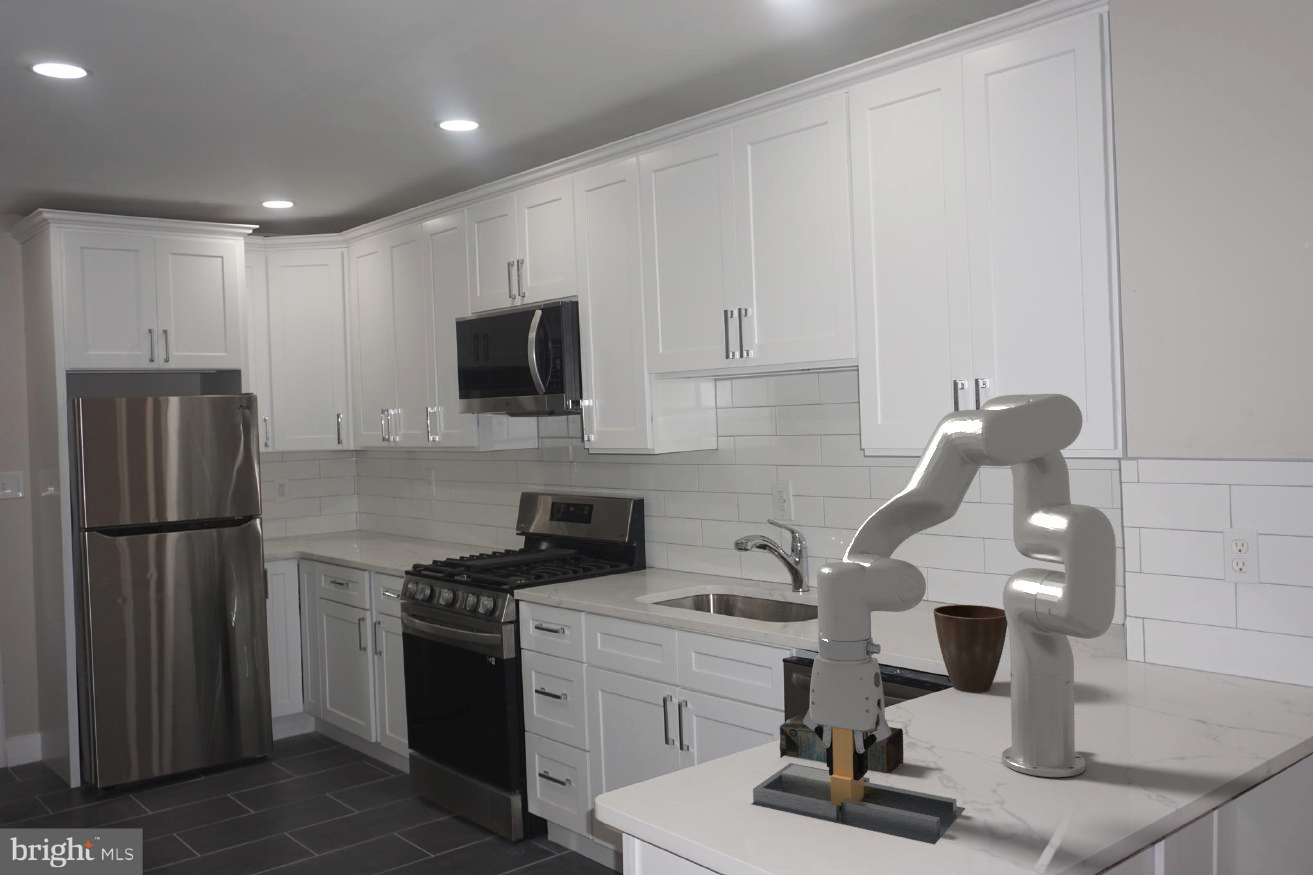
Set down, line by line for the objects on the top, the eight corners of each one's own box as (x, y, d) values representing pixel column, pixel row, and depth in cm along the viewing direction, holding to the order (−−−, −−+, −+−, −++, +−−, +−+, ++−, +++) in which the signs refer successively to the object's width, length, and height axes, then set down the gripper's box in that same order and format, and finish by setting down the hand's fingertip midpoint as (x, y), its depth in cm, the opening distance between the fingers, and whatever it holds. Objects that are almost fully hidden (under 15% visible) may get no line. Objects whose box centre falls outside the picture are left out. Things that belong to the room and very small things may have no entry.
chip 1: (793, 787, 151) (793, 764, 151) (818, 792, 149) (817, 769, 149) (782, 796, 148) (781, 772, 148) (807, 801, 146) (806, 777, 145)
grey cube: (817, 792, 149) (817, 769, 149) (843, 797, 147) (842, 774, 147) (806, 801, 145) (806, 777, 145) (832, 806, 143) (831, 782, 143)
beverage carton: (797, 746, 173) (796, 709, 173) (906, 765, 163) (905, 725, 163) (778, 760, 166) (777, 721, 166) (890, 780, 156) (890, 739, 156)
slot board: (792, 779, 157) (792, 761, 157) (965, 813, 142) (965, 793, 142) (751, 809, 145) (750, 790, 145) (934, 850, 130) (934, 828, 130)
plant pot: (947, 675, 217) (946, 602, 217) (1018, 684, 209) (1017, 608, 209) (924, 691, 205) (923, 613, 205) (998, 701, 197) (997, 620, 196)
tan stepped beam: (844, 792, 147) (842, 711, 147) (863, 796, 145) (862, 714, 145) (831, 803, 143) (829, 720, 143) (850, 807, 141) (849, 723, 141)
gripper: (908, 649, 143) (911, 777, 143) (803, 637, 151) (806, 758, 152) (890, 660, 136) (893, 794, 137) (782, 648, 145) (784, 773, 145)
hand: (847, 773), depth 144 cm, fingers closed on tan stepped beam, 3 cm apart
